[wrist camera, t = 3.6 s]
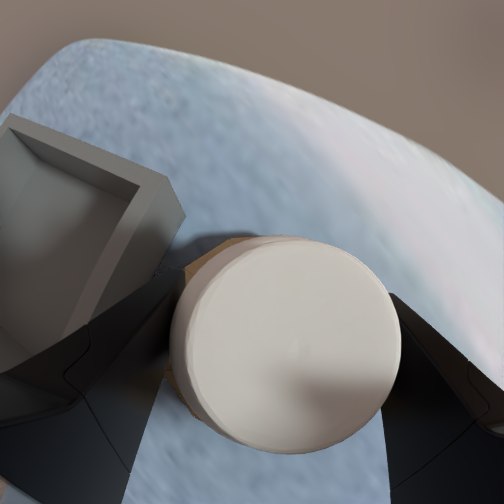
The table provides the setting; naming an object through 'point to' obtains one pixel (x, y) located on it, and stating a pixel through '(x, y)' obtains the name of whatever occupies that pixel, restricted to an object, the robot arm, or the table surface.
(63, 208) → the bin
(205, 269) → the supplement bottle
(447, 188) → the table surface
